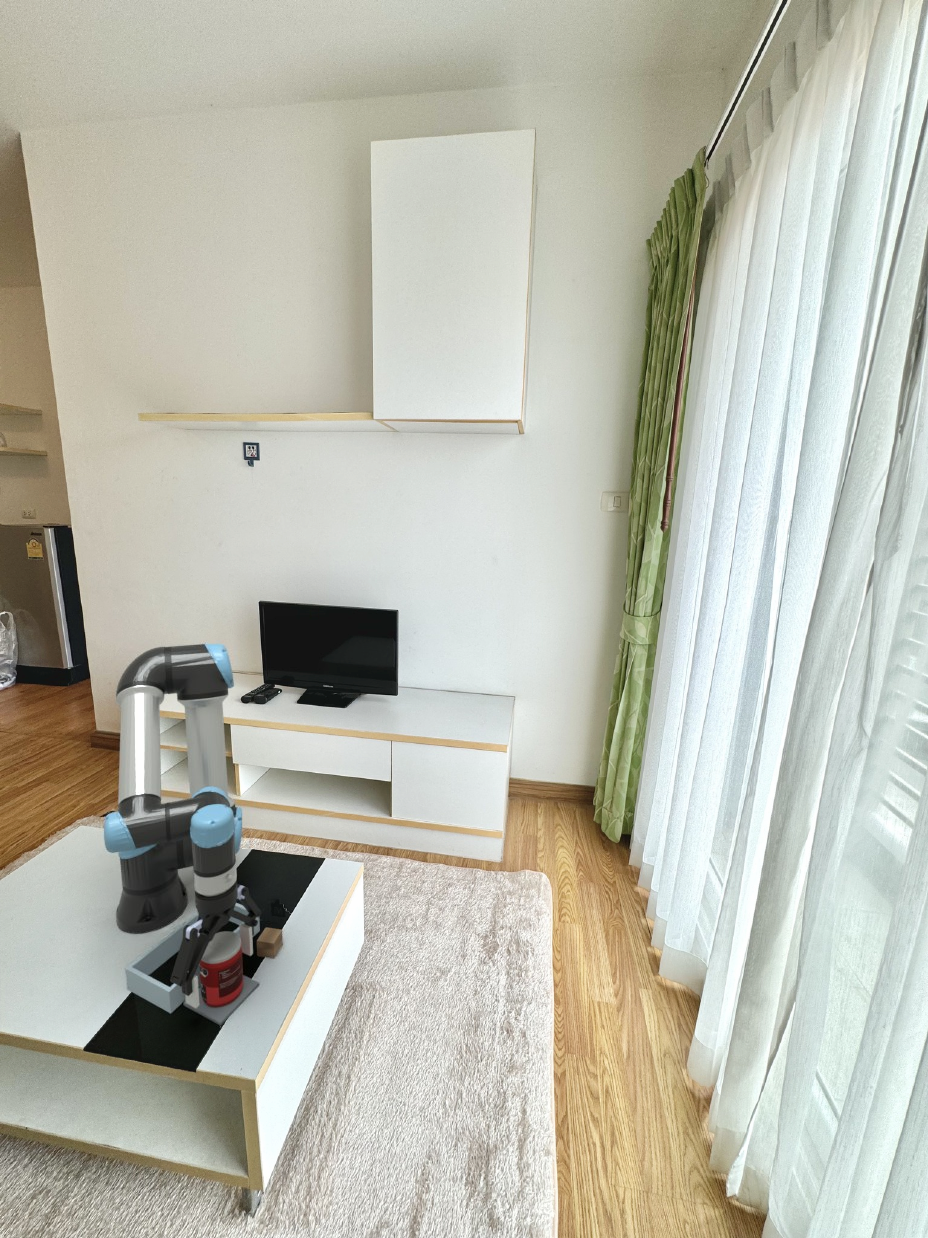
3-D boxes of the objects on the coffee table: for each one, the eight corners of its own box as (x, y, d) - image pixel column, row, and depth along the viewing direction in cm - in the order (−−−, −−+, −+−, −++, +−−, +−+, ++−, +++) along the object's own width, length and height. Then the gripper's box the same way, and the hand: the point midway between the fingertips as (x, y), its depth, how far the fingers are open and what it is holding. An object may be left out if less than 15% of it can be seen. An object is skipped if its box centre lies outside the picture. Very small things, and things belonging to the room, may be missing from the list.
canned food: (209, 976, 113) (206, 931, 111) (248, 975, 114) (246, 930, 112) (194, 1009, 106) (191, 961, 103) (236, 1007, 106) (234, 960, 104)
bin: (127, 989, 110) (125, 968, 109) (220, 913, 131) (219, 895, 130) (170, 1013, 105) (169, 992, 104) (259, 930, 127) (259, 912, 126)
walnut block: (257, 956, 120) (256, 941, 119) (266, 942, 123) (265, 927, 123) (274, 959, 119) (273, 943, 118) (282, 945, 123) (282, 930, 122)
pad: (183, 1005, 107) (183, 1003, 107) (223, 967, 116) (223, 965, 116) (220, 1025, 103) (220, 1023, 103) (259, 985, 112) (259, 982, 112)
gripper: (173, 935, 92) (180, 1038, 96) (276, 854, 114) (279, 940, 119) (143, 921, 95) (151, 1021, 99) (249, 844, 117) (253, 928, 121)
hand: (221, 977), depth 109 cm, fingers open, 13 cm apart
